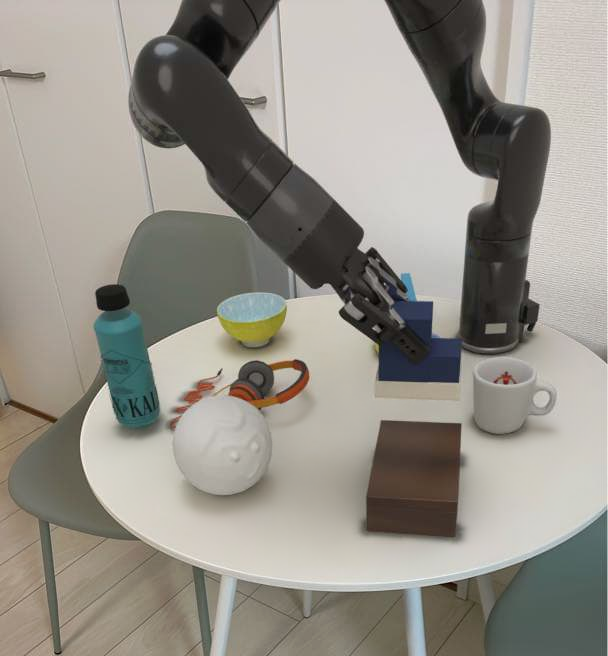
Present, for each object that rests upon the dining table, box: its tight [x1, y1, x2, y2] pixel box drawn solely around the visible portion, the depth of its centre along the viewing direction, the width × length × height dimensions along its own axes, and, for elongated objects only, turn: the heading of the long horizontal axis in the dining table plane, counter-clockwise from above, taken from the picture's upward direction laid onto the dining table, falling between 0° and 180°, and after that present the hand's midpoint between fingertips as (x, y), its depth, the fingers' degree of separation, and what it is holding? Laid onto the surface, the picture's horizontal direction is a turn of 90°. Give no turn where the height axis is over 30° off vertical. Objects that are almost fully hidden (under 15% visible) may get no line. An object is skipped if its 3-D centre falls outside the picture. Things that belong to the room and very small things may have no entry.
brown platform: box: [365, 419, 463, 538], centre depth 90 cm, size 16×10×5 cm, turn 170°
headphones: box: [169, 358, 310, 429], centre depth 108 cm, size 17×5×20 cm
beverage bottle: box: [93, 283, 162, 428], centre depth 101 cm, size 6×7×20 cm
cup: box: [472, 356, 558, 435], centre depth 98 cm, size 11×8×8 cm
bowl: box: [216, 291, 288, 348], centre depth 123 cm, size 11×12×6 cm
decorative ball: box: [172, 394, 273, 496], centre depth 91 cm, size 12×12×12 cm
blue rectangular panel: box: [400, 272, 418, 301], centre depth 125 cm, size 12×2×6 cm, turn 179°
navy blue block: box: [374, 300, 463, 402], centre depth 79 cm, size 9×5×9 cm, turn 80°
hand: (424, 345), depth 79 cm, fingers closed on navy blue block, 4 cm apart
